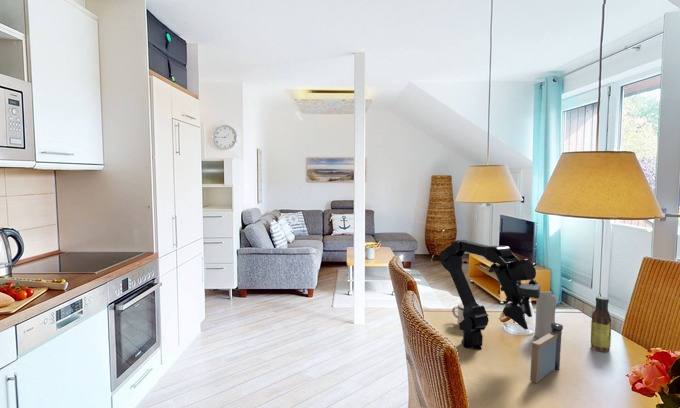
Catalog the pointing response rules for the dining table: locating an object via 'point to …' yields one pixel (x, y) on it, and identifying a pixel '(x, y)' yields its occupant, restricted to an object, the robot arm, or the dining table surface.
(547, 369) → the gate
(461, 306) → the teacup with lid
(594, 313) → the sauce bottle
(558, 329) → the hinge post
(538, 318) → the notched grey upright panel
